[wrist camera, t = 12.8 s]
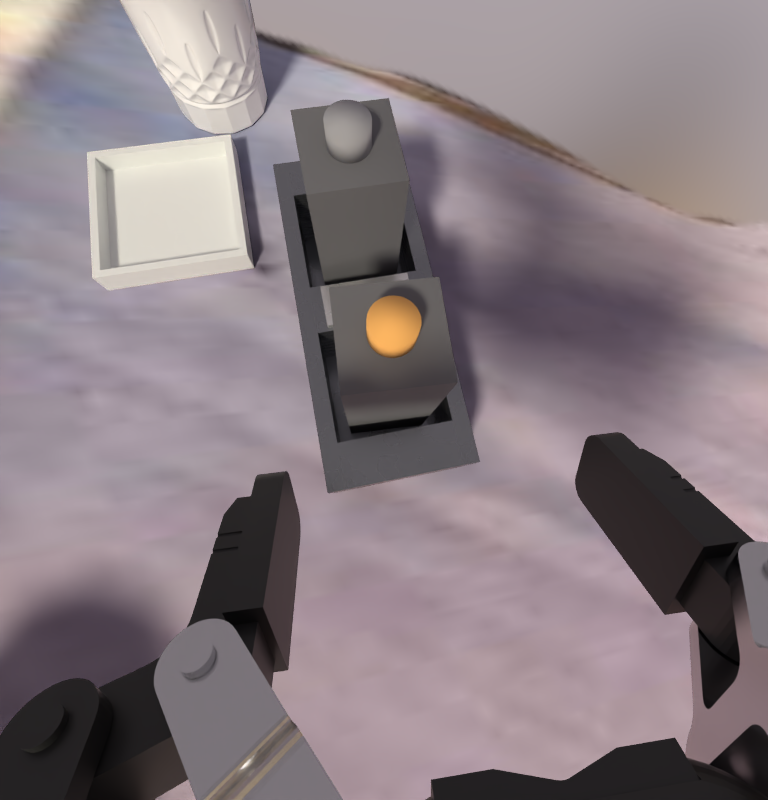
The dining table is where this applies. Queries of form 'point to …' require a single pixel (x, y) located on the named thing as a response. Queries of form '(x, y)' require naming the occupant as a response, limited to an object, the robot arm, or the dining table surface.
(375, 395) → the plug
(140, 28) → the white cup
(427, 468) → the strip
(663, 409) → the dining table surface
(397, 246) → the twin plug
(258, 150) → the dining table surface
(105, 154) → the tray
